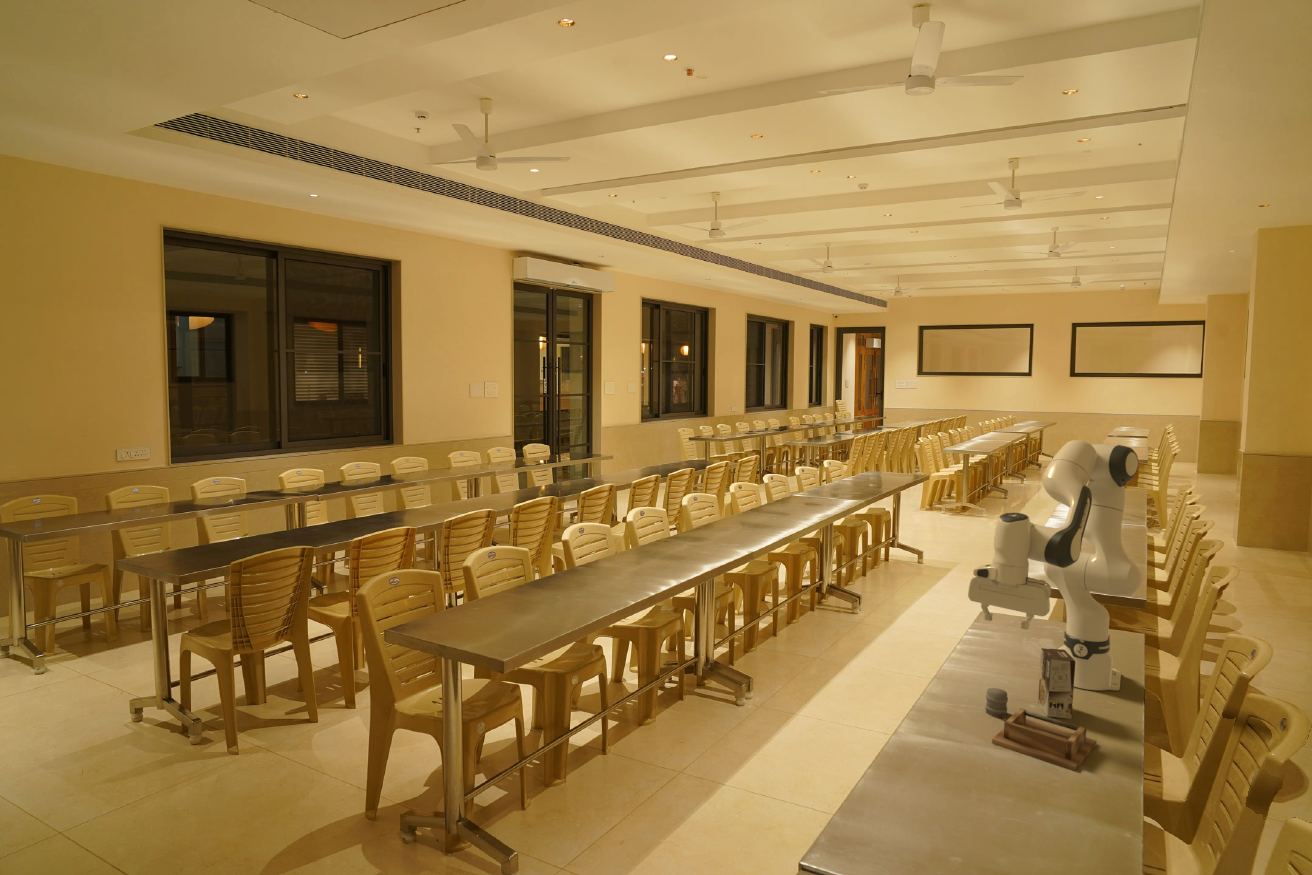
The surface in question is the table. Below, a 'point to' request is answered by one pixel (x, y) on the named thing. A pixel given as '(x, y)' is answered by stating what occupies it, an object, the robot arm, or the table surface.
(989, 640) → the table surface
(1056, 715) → the coffee box
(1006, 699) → the stacked grey discs
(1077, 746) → the brown wooden open box
